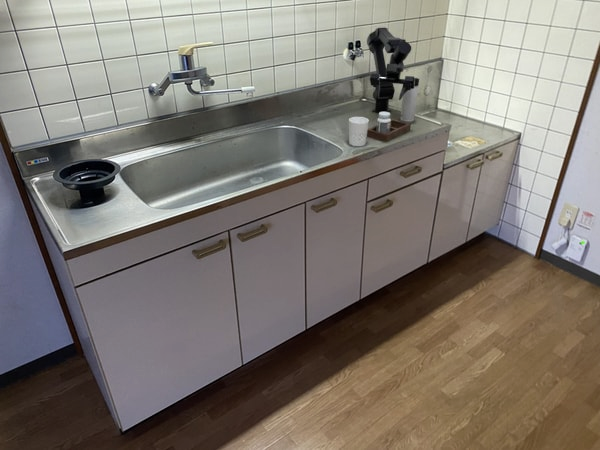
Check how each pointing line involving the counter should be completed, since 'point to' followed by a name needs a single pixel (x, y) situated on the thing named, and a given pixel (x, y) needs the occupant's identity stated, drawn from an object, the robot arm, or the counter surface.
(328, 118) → the counter surface
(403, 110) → the travel mug
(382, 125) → the pill bottle
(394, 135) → the divided brown tray
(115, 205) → the counter surface
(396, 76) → the robot arm
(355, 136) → the white cup
